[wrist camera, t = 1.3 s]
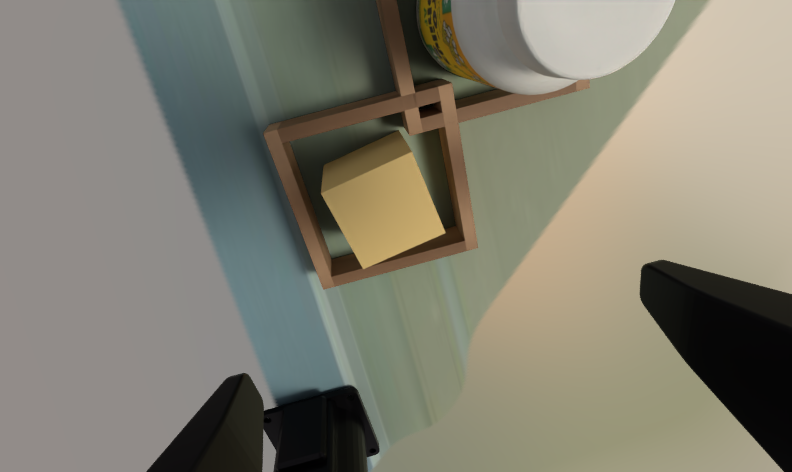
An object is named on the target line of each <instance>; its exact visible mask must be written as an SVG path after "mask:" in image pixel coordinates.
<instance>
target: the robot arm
mask: <svg viewBox="0 0 792 472" xmlns="http://www.w3.org/2000/svg"><path fill="white" fill-rule="evenodd" d="M640 298H641V301H642V303H643V305H644V306H645V307H646V309H647V310H648V312H649V313H650V314H651V316H652V317H653V318H654V320H655V321H656V323H657V324H658V325H659V327H660V328H661V330H662V331H663V332H664V333H665V335H666V336H667V338H668V339H669V340H670V342H671V343H672V345H673V346H674V347H675V349H676V350H677V351H678V353H679V354H680V355H681V357H682V358H683V359H684V360H685V362H686V363H687V364H688V365H689V366H690V368H691V369H692V370H693V371H694V372H695V373H696V374H697V375H698V377H700V379H701V380H702V381H703V382H704V383H705V384H706V385H707V387H708V388H709V389H710V390H711V391H712V392H713V393H714V394H715V395H716V397H717V398H718V399H719V400H720V401H721V402H722V403H723V404H724V405H725V407H726V408H727V409H728V410H729V411H730V412H731V413H732V414H733V416H734V417H735V418H736V419H737V420H738V421H739V422H740V423H741V424H742V426H743V427H744V428H745V429H746V430H747V431H748V432H749V433H750V435H751V436H752V437H753V438H754V439H755V440H756V441H757V442H758V443H759V445H760V446H761V447H762V448H763V449H764V450H765V451H766V452H767V453H768V454H769V456H770V457H771V458H772V459H773V460H774V461H775V462H776V464H778V466H779V467H780V468H781V469H782V470H783V471H784V472H792V294H789V293H785V292H782V291H778V290H773V289H770V288H767V287H763V286H759V285H756V284H751V283H748V282H744V281H740V280H737V279H733V278H729V277H725V276H722V275H718V274H714V273H710V272H707V271H703V270H700V269H696V268H692V267H688V266H684V265H681V264H677V263H673V262H670V261H666V260H658V261H655V262H651V263H647V264H645V265H643V267H642V269H641V281H640ZM349 395H352V396H349ZM263 429H264V430H265V432H266V434H267V435H268V437H269V439H270V441H271V442H272V444H273V446H274V447H275V449H276V458H275V465H274V472H368V468H367V457H369V456H373V455H376V454H378V453H379V451H380V450H379V443H378V440H377V438H376V435H375V433H374V430H373V428H372V425H371V423H370V420H369V417H368V415H367V412H366V410H365V407H364V405H363V402H362V400H361V397H360V395H359V392H358V390H357V389H356V388H353V387H350V388H345V389H342V390H338V391H334V392H331V393H327V394H323V395H320V396H316V397H312V398H309V399H305V400H301V401H298V402H294V403H290V404H286V405H283V406H279V407H275V408H272V409H268V410H265V411H264V406H263V400H262V397H261V395H260V394H259V392H258V390H257V388H256V387H255V385H254V383H253V381H252V380H251V378H250V376H249V375H248V374H246V373H242V374H238V375H234V376H230V377H228V378H227V379H226V380H225V381H224V382H223V383H222V384H221V385H220V386H219V388H218V389H217V390H216V391H215V392H214V394H213V395H212V396H211V397H210V398H209V399H208V401H207V402H206V403H205V404H204V405H203V406H202V407H201V409H200V410H199V411H198V412H197V413H196V414H195V416H194V417H193V418H192V419H191V420H190V421H189V423H188V424H187V425H186V426H185V427H184V428H183V430H182V431H181V432H180V433H179V434H178V435H177V437H176V438H175V439H174V440H173V441H172V442H171V444H170V445H169V446H168V447H167V448H166V449H165V451H164V452H163V453H162V454H161V455H160V457H159V458H158V459H157V460H156V461H155V462H154V463H153V465H152V466H151V467H150V468H149V469H148V470H147V472H262V463H263V459H262V458H263Z"/></svg>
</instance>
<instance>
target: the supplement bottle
mask: <svg viewBox="0 0 792 472" xmlns="http://www.w3.org/2000/svg"><path fill="white" fill-rule="evenodd" d="M674 2H675V0H417V5H416V16H417V25H418V30H419V34H420V37H421V39H422V41H423V43H424V45H425V47H426V49H427V50H428V52H429V53H430V54H431V56H432V57H433V58H434V59H435V60H436V61H437V62H438V63H439V64H440V65H441V66H442V67H443V68H444V69H446V70H448V71H449V72H451V73H453V74H455V75H458V76H460V77H464V78H467V79H470V80H473V81H477V82H480V83H482V84H485V85H488V86H492V87H494V88H497V89H501V90H504V91H507V92H511V93H516V94H523V95H538V94H545V93H549V92H554V91H557V90H560V89H562V88H565V87H567V86H569V85H571V84H573V83H575V82H577V81H578V80H587V79H594V78H598V77H602V76H605V75H608V74H611V73H613V72H615V71H617V70H619V69H620V68H622V67H624V66H625V65H627V64H628V63H630V62H631V61H632V60H634V59H635V58H636V57H637V56H639V55H640V54H641V53H642V52H643V51H644V50H645V49H646V48H647V47H648V46H649V44H650V43H651V42H652V41H653V39H654V38H655V37H656V36H657V35H658V33H659V32H660V30H661V29H662V27H663V25H664V23H665V21H666V20H667V18H668V16H669V14H670V12H671V9H672V7H673V5H674Z"/></svg>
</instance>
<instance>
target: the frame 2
mask: <svg viewBox="0 0 792 472" xmlns="http://www.w3.org/2000/svg"><path fill="white" fill-rule="evenodd" d="M376 4H377V8H378V13H379V17H380V22H381V26H382V31H383V35H384V40H385V44H386V49H387V53H388V58H389V62H390V67H391V71H392V76H393V80H394V85H395V89H396V92H397V93H398V94H399V95H400V96H405V95H409V94H413V93H415V89H414V85H413V80H412V75H411V70H410V65H409V60H408V55H407V50H406V45H405V40H404V35H403V30H402V25H401V20H400V15H399V10H398V5H397V0H376ZM587 88H590V82H589V79H587V80H578V81H577V82H575V83H573V84H571V85H569V86H567V87H565V88H562V89H560V90H557V91H554V92H549V93H545V94H538V95H523V94H516V93H511V92H507V91H504V90H501V89H496V90H492V91H489V92H485V93H481V94H477V95H474V96H470V97H466V98H462V99H459V100H455V106H456V112H457V118H458V123H460V122H463V121H467V120H471V119H475V118H478V117H482V116H486V115H490V114H493V113H497V112H501V111H505V110H508V109H512V108H516V107H520V106H523V105H527V104H531V103H535V102H538V101H542V100H546V99H550V98H553V97H557V96H561V95H565V94H568V93H572V92H576V91H579V90H583V89H587ZM405 97H406V96H405ZM407 97H408V96H407ZM413 97H415V94H414V96H413ZM413 97H412V99H413ZM402 99H403V98H402ZM414 101H415V98H414ZM416 101H417V100H416ZM412 102H413V101H412ZM403 103H404V102H403ZM415 103H416V102H415ZM408 106H409V105H408ZM415 106H416V104H415ZM406 107H407V106H406ZM405 109H406V108H405ZM451 114H452V113H451ZM401 116H402V121H403V125H404V128H405V129H406V131H407V132H408V134H409V135H410V136H411V135H415V134H419V133H422V132H426V131H430V130H433V129H437V128H441V127H445V123H444V119H445V118H444V117H443V116H444V115H443V113H442V112H441V111H440V110H438V109H437V108H436V107H435V106H432V107H429V108H425V109H421V110H419V109H418V107H417V108H416V107H415V108H413V109H409V110H405V111H402V112H401ZM448 117H449V116H448ZM452 118H453V117H452ZM446 119H447V118H446ZM446 122H447V121H446ZM448 122H449V121H448ZM453 122H455V121H453ZM447 125H448V124H447Z"/></svg>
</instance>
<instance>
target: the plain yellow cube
mask: <svg viewBox="0 0 792 472" xmlns="http://www.w3.org/2000/svg"><path fill="white" fill-rule="evenodd" d="M321 195H322V196H323V198H324V200H325V202H326V204H327V205H328V207H329V209H330V211H331V212H332V214H333V216H334V218H335V220H336V221H337V223H338V225H339V227H340V228H341V230H342V232H343V234H344V236H345V237H346V239H347V241H348V243H349V245H350V246H351V248H352V250H353V252H354V253H355V255H356V257H357V259H358V261H359V262H360V264H361V266H362V268H363V269H365V268H367V267H370V266H372V265H374V264H376V263H379V262H381V261H383V260H386V259H388V258H390V257H392V256H395V255H397V254H399V253H401V252H404V251H406V250H408V249H411V248H413V247H415V246H417V245H420V244H422V243H424V242H426V241H429V240H431V239H433V238H436V237H438V236H440V235H442V234H445V233H446V232H445V230H444V228H443V225H442V223H441V220H440V218H439V216H438V213H437V211H436V208H435V206H434V204H433V201H432V199H431V196H430V194H429V192H428V189H427V187H426V184H425V182H424V180H423V177H422V175H421V172H420V170H419V168H418V165H417V163H416V161H415V158H414V156H413V153H412V151H411V150H410V148H409V146H408V145H407V143H406V141H405V140H404V138H403V137H402V135H401V133H400V132H399V130H398V131H396V132H394V133H392V134H390V135H387V136H385V137H383V138H381V139H379V140H377V141H374V142H372V143H370V144H368V145H366V146H364V147H362V148H359V149H357V150H355V151H353V152H351V153H349V154H346V155H344V156H342V157H340V158H338V159H336V160H334V161H331V162H329V163H327V164H325V165H324V167H323V177H322V187H321Z"/></svg>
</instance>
